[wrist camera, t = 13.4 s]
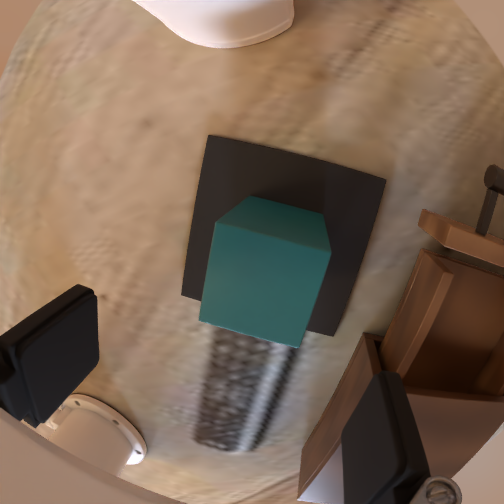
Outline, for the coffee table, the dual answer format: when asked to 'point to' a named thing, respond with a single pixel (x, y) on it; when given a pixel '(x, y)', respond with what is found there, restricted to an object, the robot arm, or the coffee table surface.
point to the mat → (294, 194)
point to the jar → (223, 20)
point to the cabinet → (426, 416)
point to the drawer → (452, 309)
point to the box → (265, 270)
